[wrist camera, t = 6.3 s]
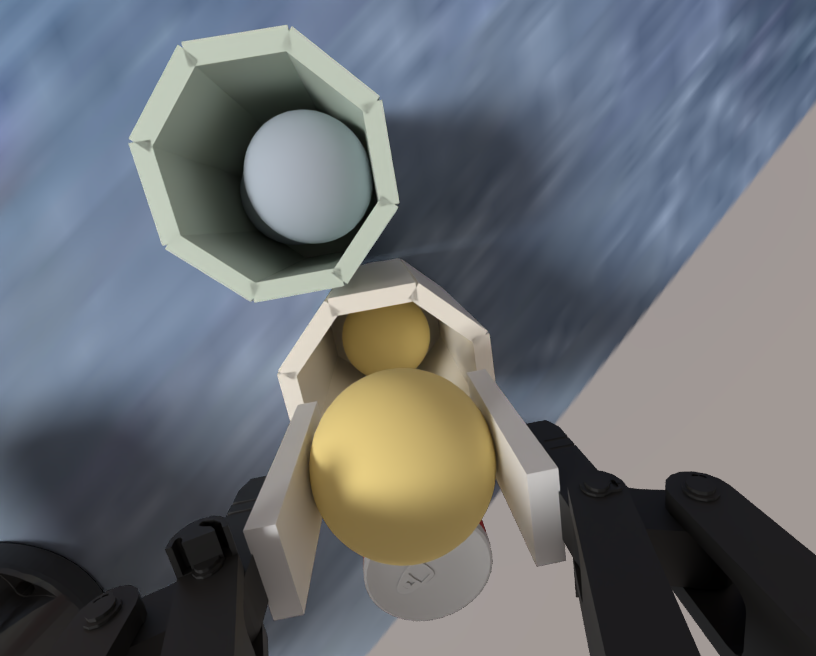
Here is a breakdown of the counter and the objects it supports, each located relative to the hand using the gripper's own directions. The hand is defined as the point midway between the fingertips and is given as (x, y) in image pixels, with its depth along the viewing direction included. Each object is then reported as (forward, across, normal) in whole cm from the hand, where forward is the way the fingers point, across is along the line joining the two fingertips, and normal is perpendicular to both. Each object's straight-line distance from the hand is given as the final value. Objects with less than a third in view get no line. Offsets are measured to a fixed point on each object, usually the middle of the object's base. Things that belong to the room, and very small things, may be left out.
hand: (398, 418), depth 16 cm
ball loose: (-3, 0, 0) cm, 3 cm away
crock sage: (+16, -3, +10) cm, 19 cm away
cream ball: (+12, 0, 0) cm, 12 cm away
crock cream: (+16, 0, 0) cm, 16 cm away
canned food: (+16, 0, -12) cm, 20 cm away
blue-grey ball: (+6, -2, +10) cm, 12 cm away
